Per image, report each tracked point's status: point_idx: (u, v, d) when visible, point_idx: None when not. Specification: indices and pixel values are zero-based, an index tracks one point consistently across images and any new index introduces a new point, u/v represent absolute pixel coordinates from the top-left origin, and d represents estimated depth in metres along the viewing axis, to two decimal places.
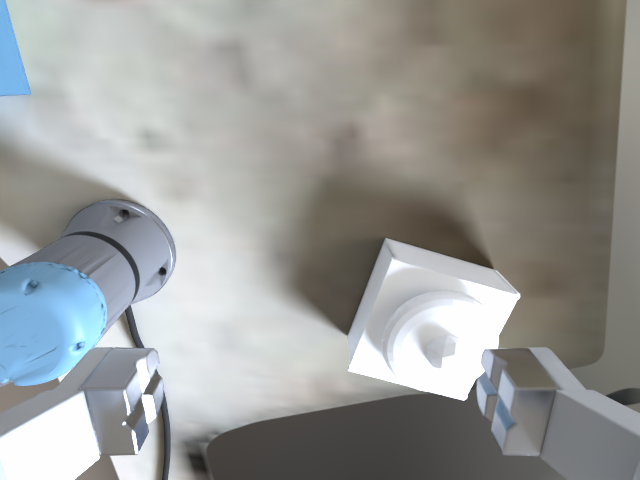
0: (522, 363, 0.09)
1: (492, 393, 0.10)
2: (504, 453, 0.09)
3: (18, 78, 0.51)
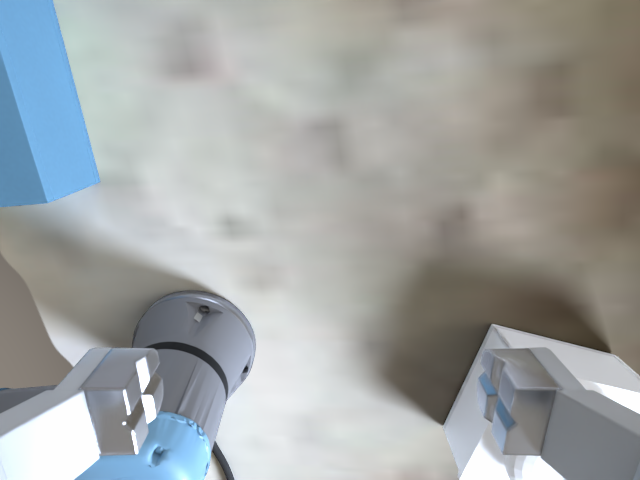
0: (522, 363, 0.09)
1: (492, 393, 0.10)
2: (504, 453, 0.09)
3: (88, 168, 0.45)
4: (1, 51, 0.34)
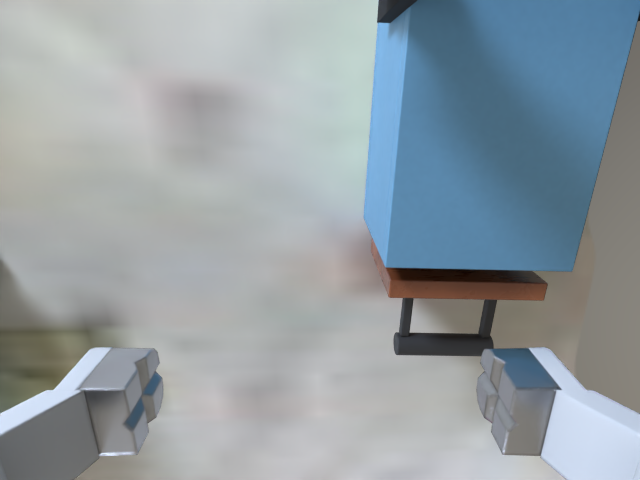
0: (522, 363, 0.09)
1: (492, 393, 0.10)
2: (504, 453, 0.09)
3: None
4: (395, 150, 0.21)
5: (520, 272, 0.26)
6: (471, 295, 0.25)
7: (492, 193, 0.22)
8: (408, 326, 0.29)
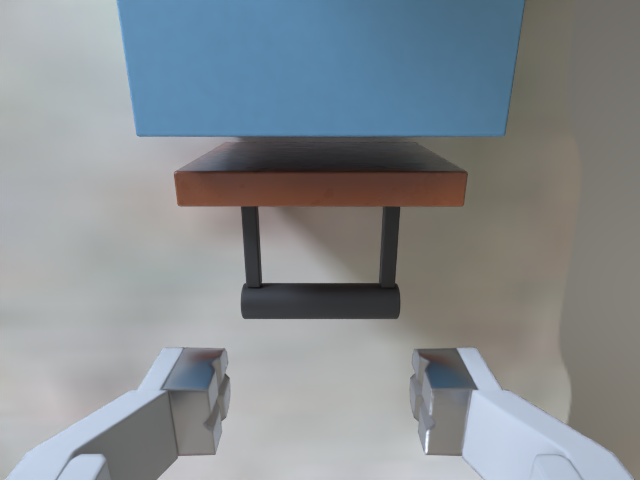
0: (446, 363, 0.09)
1: (419, 393, 0.10)
2: (426, 453, 0.09)
3: None
4: None
5: (427, 163, 0.15)
6: (328, 199, 0.14)
7: None
8: (256, 270, 0.17)
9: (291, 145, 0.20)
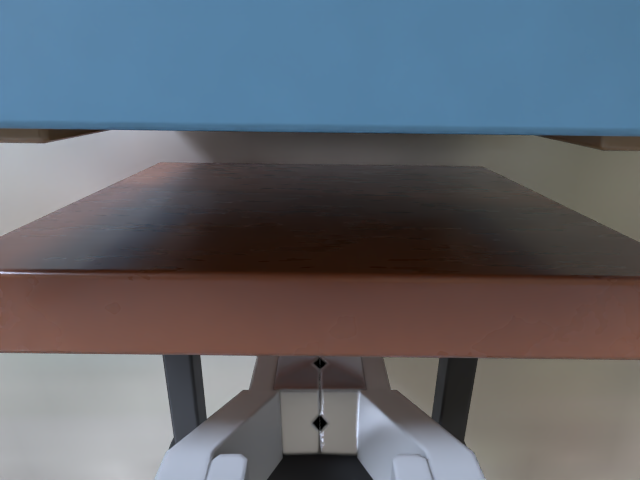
0: (343, 363, 0.09)
1: None
2: (322, 453, 0.09)
3: None
4: None
5: (571, 236, 0.06)
6: (341, 342, 0.05)
7: None
8: (192, 423, 0.09)
9: (269, 171, 0.11)
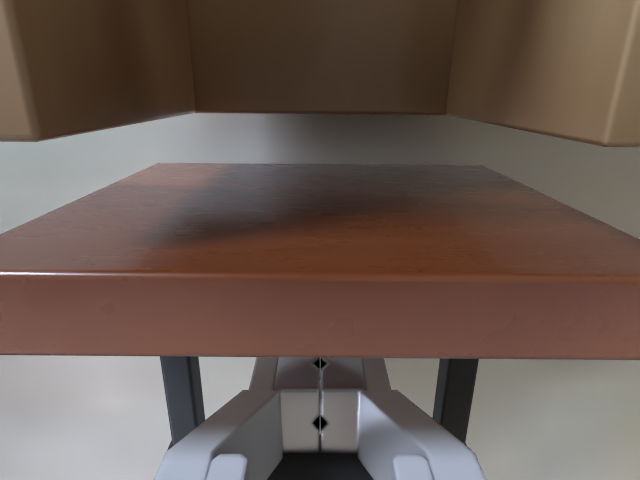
0: (344, 363, 0.09)
1: None
2: (323, 452, 0.09)
3: None
4: None
5: (572, 234, 0.06)
6: (339, 343, 0.05)
7: None
8: (190, 425, 0.09)
9: (268, 171, 0.11)
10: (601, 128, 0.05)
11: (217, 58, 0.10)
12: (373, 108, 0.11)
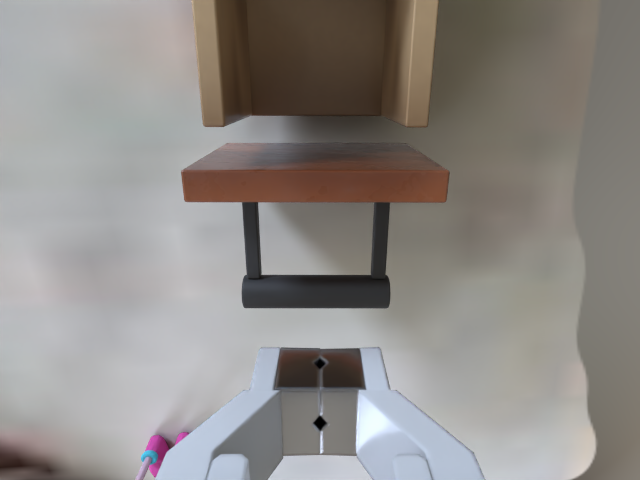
0: (343, 363, 0.09)
1: None
2: (322, 453, 0.09)
3: None
4: None
5: (414, 163, 0.16)
6: (322, 195, 0.15)
7: None
8: (256, 262, 0.19)
9: (289, 146, 0.21)
10: (405, 121, 0.15)
11: (263, 88, 0.20)
12: (343, 112, 0.20)
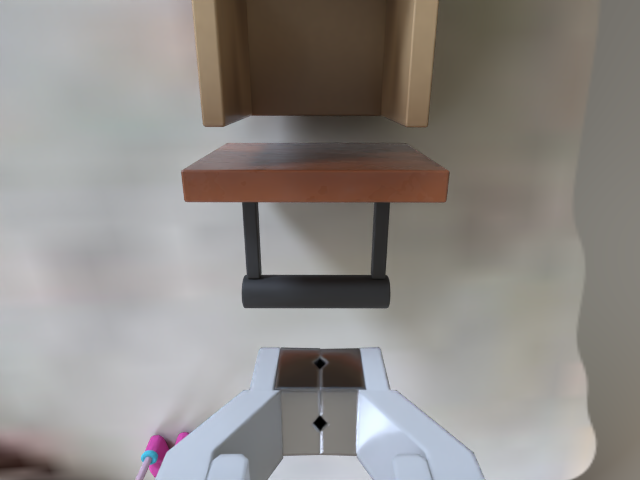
0: (343, 363, 0.09)
1: None
2: (322, 453, 0.09)
3: None
4: None
5: (414, 163, 0.16)
6: (322, 195, 0.15)
7: None
8: (256, 262, 0.19)
9: (289, 146, 0.21)
10: (405, 121, 0.15)
11: (263, 88, 0.20)
12: (343, 112, 0.20)
